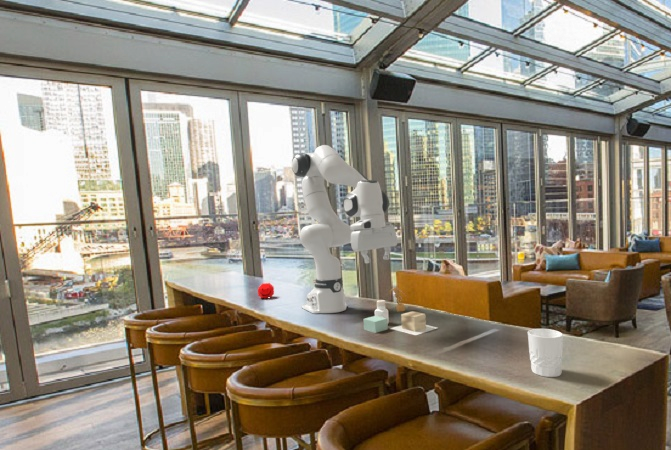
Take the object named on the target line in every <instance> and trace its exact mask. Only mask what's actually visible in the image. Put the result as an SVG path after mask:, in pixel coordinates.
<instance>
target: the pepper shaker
mask: <svg viewBox="0 0 671 450" xmlns="http://www.w3.org/2000/svg"><path fill="white" fill-rule="evenodd" d="M374 316H379V317H383V318H387V323H388V324H389V322H390V321H389V320H390V319H389V310H388V309H387V308H386V300H384V299H378V300H376V309H375V310H374Z"/></svg>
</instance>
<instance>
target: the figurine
mask: <svg viewBox="0 0 671 450" xmlns="http://www.w3.org/2000/svg"><path fill="white" fill-rule="evenodd" d="M392 291H393V293H394V297H395V300H396V303H397V304H396V306H395V311H396V312H397V313H401V312H405V311H406V305H405V304H403V303H402V300H403V297H402V296H401V294H400V293H402V294H403V296H405V297H406V298H408V296H407V295H406V293H404V291H403V290H402V289H400V288H399V285H397V284H396V286H395V287H393V288H391V289H389V296H392V294H391V293H392Z"/></svg>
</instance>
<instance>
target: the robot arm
mask: <svg viewBox="0 0 671 450" xmlns="http://www.w3.org/2000/svg"><path fill="white" fill-rule="evenodd" d="M291 170H292V173H293V174H294V175H295V176H296V177H301V178H302V180H301V181H302V182H301V188H302V190H301V191H302V195H303V200H304V204H305V208H306V211H307V214H308V216H309V217H310V218H311V219H313V220H315V221H317V222H318V223H313V224H309V225H305V226H303V227H302V228H301V230H300V233H299V241H300V243H301V245H302V246H303V247H304V248H305V249H306V250H308V251H309V252H310V254H311V256H312V258H313V260H314V265H315V273H316V275H315V276H316V278H315V279H313V283H314V287H313V288H312V289H311V291H310V292H308V293H307V294H306V303H304V304H303V305H302V304H301V309H303V310H305V311H308V312H309V313H312V314H335V313H340V312H343V311H346V310H347V307H348V303H346V298H345V297H346V296H345V291H344V290H345V289H344V288H343V277H342V268H341V261H340V259H339V258H338V257H336V256H334V255H332V253H331V250H330V248H335V247H343V246H345V245H348V244H350V245H351V249H352V251H353V252H355V253H356V252H360V255H361V256H362V258H363V261H364V264H370V263H372V261H371V260H372V259H371V257H369V256H368V255H369V252H368V251H371V250H378V249H384V255H382V257H383V260H384V261H387V260H390V254H391V252H392V249H391V247H396V246H397V245H398V243H399V242H398V238H397V237H398V236H397V232H396V230H395V226H394V224H393V223H392V222H390V221H387V222H386V219H385V214H386V213H387V211H388V210H389V207H390V199H389V196H388V195H387V194H386V192H385V191H384V190H382V189H381V185H380V183H379V181H378V180H376V179H369V178H367V177H366V176H365V175H364V174H363V173H362V172H361V171H359V170H358V169H356V168H355V167H353V166H351V165H350V164H349V163H348V162H346V161H345V160H344V159H343V158H342V157H341V155H340V154H339V153H338V152H337V151H336V150H335V149H334V148H332V147H331V146H330V145H328V144H322V145H320V146H318V147H317V148H316V149H315V150H314V152H305V153H304V152H302V153H301V152H300V153H297V154H295V155H294V156H293V158H292V160H291ZM325 181H327V182H328V183H330V184H333V185H338V186H347V187H352V188H354V189H353V190H352V191H351V192H349V193H347V194H346V195H345V196H344V197H343V200H342V207H343V211H344V213H345V214H346V215H347V216H348V217H350V218H358V217H359V218H360V219H359V220H358V221H355V222H354V223H352V224H350V225H349V223H346V222H344V221H343V220H342V219H341V218H340V217H339V216H338V215H337V214H336V212H335V211H334V210H333V207H332V205H331V202H330V198H329V194H328V192H327V189H326V186H325Z"/></svg>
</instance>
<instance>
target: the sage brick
mask: <svg viewBox="0 0 671 450" xmlns="http://www.w3.org/2000/svg"><path fill="white" fill-rule="evenodd" d="M362 320H363V330H364V331H368V332H370V333H375V334H376V333H380V332H383V331H387V330H388V329H389V328H388V324H389V323H387V318H383V317H379V316H375V315H373V316H368V317H366V318H363V319H362Z"/></svg>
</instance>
